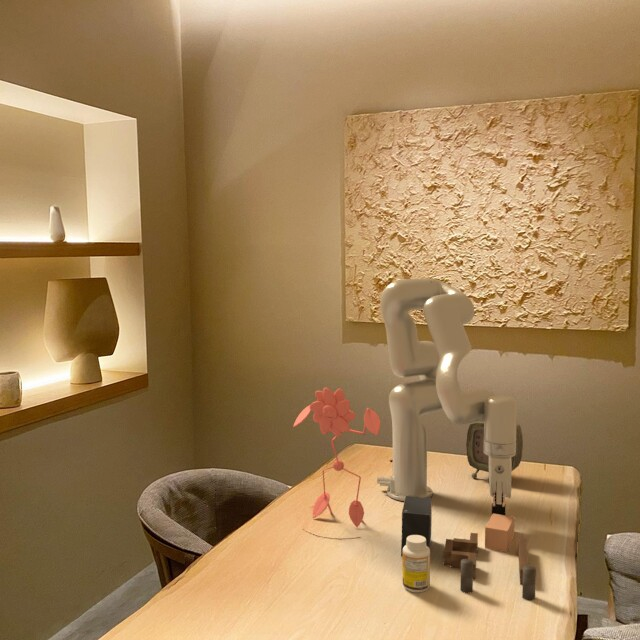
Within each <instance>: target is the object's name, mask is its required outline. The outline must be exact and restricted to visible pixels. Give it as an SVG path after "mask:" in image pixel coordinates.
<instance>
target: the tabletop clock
mask: <svg viewBox="0 0 640 640" xmlns="http://www.w3.org/2000/svg"><path fill="white" fill-rule="evenodd" d="M466 435H467V436H466V444H465V445H466V458H467V462H468V464H469V466H471V467H472V468H473V469H476V470H475V472H473V473H472V474H471V478H472V479H477V478H478V473H479V472H480V471H481V472H487V473H489V456H488V455H486V454H484V420H481V421H475V422H471V423H469V427H468V429H467V433H466ZM523 440H524V439H523V432H522V429H521V425H520V424H519V423H517V422H516V455H515V456H513V457H511V462H512V472H513V471H514V470H515V469H517V468H518V467H519V466H520V464H521V461H522V458H523V450H524V449H523V447H524V443H523V442H524V441H523ZM512 485H513V480H511V486H512Z"/></svg>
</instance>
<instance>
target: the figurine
mask: <svg viewBox="0 0 640 640" xmlns="http://www.w3.org/2000/svg"><path fill="white" fill-rule="evenodd" d="M314 396H315V399H316V401H313V402H311V404H310V405H307V406H306V407H305V408H303V410H302V411H301V412H300V413H299V414H298V416H297V417H296V419H295V421H294V423H293V427H292V428H295V427H297V426H299V425H300V424H301V423H303V422H304V421H305V420H306V419H307V418H308V416H309V415H310V413H311V412H313V415H312V421H313V422H314V423H316V424H319V429H320V432H321V434H322V435H328V434H329V432H331V433H332V434H333V435H334V437H333V438H331V442H330V444H331V446H332V451H333V454H334V456H335V459H336V460H335V461H334V462H333V464H332V466H329V467H326V468H323V469H322V484H323V485H322V486H323V493H322V494H321V495H320V496H319V497H318V498H317V499H316V500H315V502H314V504H313V505H312V506H309V508H312V509H313V510H312V518H313V519H314V518H317V517H318V516H320V515H321V514H323V513H324V512H325V511H326V509H327V508H328V511H329V514H333V511H332V508H331V506H330V499H331V498H330V494H329V493H328V492H326V487H325V485H326V484H325V471H328V470H329V469H332V468H333V470H335V471H337V472H340V471H343V470H344V471H345V472H348V473H349V474H352V475H354V476H356V477H358V485H357V491H356V492H357V493H356V499H354V500H352V501H351V502H350V505H349V508H348V515H349V518H350V520H351V522H352V523H353V525H354V526H355V527H356V528H358V527H360V525H361V523H362V521H363V519H364V517H365V515H364V514H365V510H364V507H363V504H362V503H361V501H359V492H360V488H361V486H360V485H361V478H362V477H361V476H360V475H358V474H356V473H355V472H352V471H350V470H348V469H346V468H344V467H345V464H344V462H343V461H342V460H341V459H338V455H337V450H336V447H335V443H334V441H336V440H337V438H340V437H341V436H342V434H343V433H348V432H351V433H355V434H358V435H365V434H366V431H367V430H368V431H369V432H370V433H371V434H372V435H375V436H376V437H378V436H379V433H380V429H381V427H382V425H381V419H380V417H379V414H377V412H376V411H375V410H373V409H371V408H370V407H367V408H366V410H365V412H364V413H363V423H364V425H363V430H362V431H359V430H354V429H351V427H350V424H349V423H350V422H353V421H354V420H355V419H356V417H357V415H356V413H355V412H354V411H353V410H350V407H351V402H350V401H351V400H349V399H346V398H345V397H346V395H345V393H344V391H343V389H342V388H337V389H336V391H334V392H333V391H332V390H331V389H329V388H328V387H324V388H323V390H316V391H315V393H314ZM302 530H304V531H305V532H306V533H309V534H310V535H313V536H315V537H318V538H322V539H324V538H325V539H328V537H326V536H322V535H321V536H320V535H317V534H314V533H311V532H309V531H307V530H305V528H303V529H302ZM359 538H361V536H358V537H356V539H359ZM330 539H331V540H332V539H333V540H338V541H345V540H352V539H355V537H349V538H336V537H334V538H332V537H329V540H330Z"/></svg>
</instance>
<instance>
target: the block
mask: <svg viewBox="0 0 640 640" xmlns="http://www.w3.org/2000/svg"><path fill="white" fill-rule="evenodd" d="M514 537H515V516H513V515H512V516H511V515H506V514H505V515H500V514H494V513H493V514H492V513H491V516H490V518H489V519H488V522H486V525H485V527H484V549H490V550H495V551H499V552H500V551H501V552H507V553H508V550H509V549H510V546H511V545H512V542H513V539H514Z"/></svg>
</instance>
